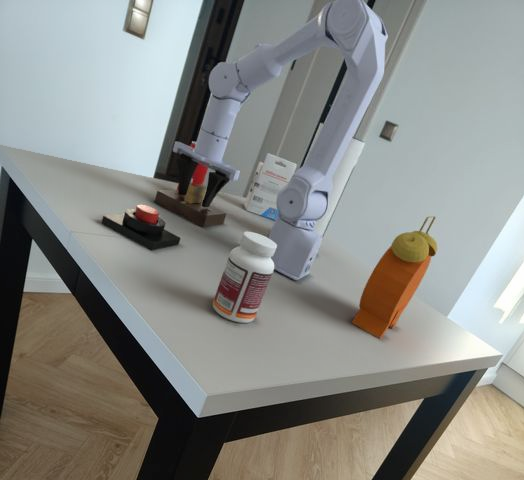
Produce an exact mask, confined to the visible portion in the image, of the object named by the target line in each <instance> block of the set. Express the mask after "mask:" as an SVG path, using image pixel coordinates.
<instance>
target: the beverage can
mask: <svg viewBox="0 0 524 480" xmlns="http://www.w3.org/2000/svg"><path fill="white" fill-rule="evenodd" d="M196 142H197V141H193V140H192V141H191V144H189V146H190V147H192V148H195V145H196ZM200 161H201V160H200ZM205 163H206V162H205ZM207 164H208V163H207ZM208 170H209V168H208V167H206V166H204V165H202V164H200V163H199V164H198V166H197V168H196V170H195V172H194V174H193V176H192V178H191V181H190V184H191V183H194V184H202V185H204V182H205V180H206V176H207V173H208ZM176 190H179V182H178V183H177V187H176Z"/></svg>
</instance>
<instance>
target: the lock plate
mask: <svg viewBox="0 0 524 480" xmlns="http://www.w3.org/2000/svg"><path fill="white" fill-rule="evenodd" d="M178 191H179V190H177V189H165V190H163V189H162V190H160V189H158V190H157V191H156V194H155V198H154V200H153V201H154V202H153V203H155V204H157V205H159V206H161V207H162V208H165V209H167V210H168V211H170V212H172V213H174V214H176V215H178V216H180V217H182V218H184V219H186V220H187V221H189V222H192V223H193V224H195V225H198V226H199V227H201V228H208V227H214V226H220V225H224V223H225V219H226V217H227V212H226V211H223V210H221V209H219V208H217V207H216V206H213V205H212V204H210V206H209V207H203V206H202V203H191V204H190V203H188V202H186V201H184V200H185V197H186V195H179V194H178ZM186 194H187V193H186ZM202 202H203V200H202Z"/></svg>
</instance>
